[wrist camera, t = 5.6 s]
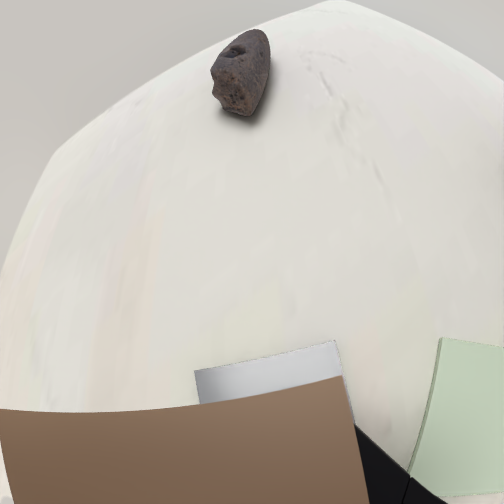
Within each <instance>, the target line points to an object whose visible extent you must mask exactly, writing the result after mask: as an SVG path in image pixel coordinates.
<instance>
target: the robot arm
mask: <svg viewBox="0 0 504 504" xmlns="http://www.w3.org/2000/svg"><path fill="white" fill-rule="evenodd" d="M353 424H354V423H353ZM354 428H355V433H356V437H357V442H358V447H359V452H360V457H361V461H362V467H363V472H364V477H365V482H366V487H367V493H368V498H369V504H448V503H446V502H445V501H443V500H442V499H440V498H439V497H437V496H436V495H434V494H433V493H432V492H430V491H429V490H428V489H426V488H425V487H424V486H423V485H421V484H420V483H419V482H418V481H417V480H416V479H415V478H413V477H411V475H410V474H409V473H408V472H406V471H405V470H404V469H403V468H402V467H401V466H400V465H399V464H398V463H396V462H395V461H394V460H393V459H392V458H391V457H390V456H389V455H388V454H386V453H385V452H384V451H383V450H382V449H381V448H380V447H379V446H378V445H377V444H376V443H375V442H373V441H372V440H371V439H370V438H369V437H368V436H367V435H366V434H365V433H364V432H363V431H362V430H361V429H360V428H358V427H357V426H356V425H355V424H354ZM410 477H411V478H410Z"/></svg>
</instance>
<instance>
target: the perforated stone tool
mask: <svg viewBox="0 0 504 504" xmlns="http://www.w3.org/2000/svg"><path fill="white" fill-rule="evenodd" d="M269 66H270V45H269V41H268V38H267V36H266V34H265V33H264V32H263V31H261V30H258V29H253V30H249V31H247V32H245V33H243V34H241V35H239V36H238V37H237V38H236V39H235V40H233V41H232V42H231V43H230V44H229V45H228V46H227V47H226V48H225V49H224V50H223V51H222V52H221V53H220V54H219V56H218V57H217V59H216V61H215V63H214V64H213V66H212V68H211V70H210V72H211V75H212V78H213V80H214V87H213V91H212V94H213V96H214V97H215V98H217V99H218V100H219V101H220V103H221V105H222V107H223V109H224V110H225V111H231V112H233V113H239V114H240V115H243V116H250V115H252V113H253V112H254V110H255V108H256V107H257V105H258V103H259V101H260V99H261V96H262V93H263V91H264V88H265V85H266V81H267V77H268V72H269Z"/></svg>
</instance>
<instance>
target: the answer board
mask: <svg viewBox="0 0 504 504" xmlns="http://www.w3.org/2000/svg"><path fill="white" fill-rule="evenodd" d="M408 473H409V474H410V475H411V477H413V478H415V479H416V480H417V481H418V482H419V483H420V484H421V485H423V486H424V487H425V488H426V489H428V490H429V491H430V492H432V493H433V494H434V495H436V496H437V497H439V496H466V495H480V494H490V493H498V492H504V347H499V346H492V345H486V344H480V343H474V342H468V341H462V340H456V339H450V338H444V337H442V338H440V339H439V346H438V352H437V358H436V364H435V369H434V375H433V380H432V385H431V390H430V394H429V399H428V403H427V407H426V411H425V415H424V419H423V423H422V427H421V430H420V434H419V437H418V441H417V444H416V447H415V451H414V454H413V457H412V460H411V463H410V466H409V469H408ZM411 477H410V478H411Z"/></svg>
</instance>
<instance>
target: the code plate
mask: <svg viewBox="0 0 504 504" xmlns="http://www.w3.org/2000/svg"><path fill="white" fill-rule="evenodd" d="M194 373H195V379H196V385H197V391H198V396H199V402H200V404H206V403H213V402H219V401H226V400H232V399H238V398H243V397H249V396H254V395H259V394H264V393H269V392H274V391H279V390H283V389H288V388H292V387H296V386H300V385H305V384H309V383H313V382H317V381H320V380H324V379H328V378H332V377H335V376H339V375H342V377H343V381H344V385H345V389H346V393H347V397H348V402H349V406H350V410H351V415H352V419H353V423H354V424H355V420H354V416H353V412H352V407H351V403H350V399H349V394H348V390H347V386H346V382H345V378H344V374H343V370H342V366H341V362H340V358H339V354H338V350H337V346H336V342H335V340H333V341H329V342H326V343H322V344H318V345H314V346H310V347H306V348H302V349H298V350H294V351H290V352H286V353H282V354H277V355H273V356H268V357H264V358H259V359H254V360H250V361H245V362H240V363H235V364H229V365H224V366H219V367H213V368H207V369H201V370H195V371H194Z"/></svg>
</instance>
